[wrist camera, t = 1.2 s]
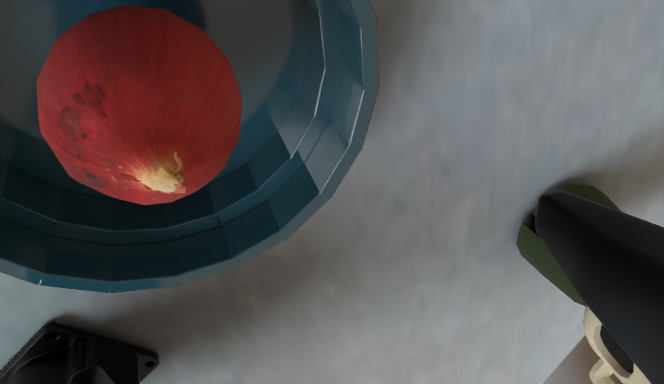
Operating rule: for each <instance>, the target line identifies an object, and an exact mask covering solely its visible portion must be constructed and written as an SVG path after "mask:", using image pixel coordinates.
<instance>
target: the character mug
mask: <svg viewBox="0 0 664 384" xmlns="http://www.w3.org/2000/svg"><path fill="white" fill-rule="evenodd" d="M562 190H563V191H566V192H569V193H571V194H574V195H577V196H579V197H582V198H585V199H588V200H590V201H593V202H596V203H598V204H601V205H604V206H607V207H609V208H612V209H615V210H618V211H620V210H619V209H618V208H617V207H616V206H615V204H614V203H613V202H612V201H611V200H610V199H609V198H608V197H607V196H606V195H605V194H604V193H602V192H601V191H600V190H598V189H597V188H595V187H594V186H583V185H572V186H569V187H567V188H565V189H562ZM536 212H537V206H536V207H535V208H534V210H533V211H532V213H533V214H534V215H535V216H536ZM620 212H621V211H620ZM517 245H518V248H519V251H520V253H521V255H522V256H523V257H524V258H525V259H526V260H527V261H528V262H529V263H530V264H531V265H533V266H534V267H535V268H536V269H537V270H538V271H539V272H540V273H541V274H542V275H543V276H544V277H546V278H547V279H548V280H549V281H550V282H552V283H553V284H554V285H555V286H556V287H558V288H559V289H560V290H561V291H562V292H564V293H565V294H566V295H567V296H568V297H570V298H571V299H572V300H573V301H574V302H577V303H579V304H581V305H584V306H586V309H585V312H584V319H583V327H584V332H585V334H586V337H587V339H588V341H589V343H590V345H591V347H592V348H593V350H594V351H596V353H597V354H598V355H599V357H600V358H601V359H600V360H599V361H598V362H597V363H596V364H595V365H594V366H593V367H592V369H591V371H590V374H589V376H590V378H591V380H592V382H593V384H615V383H614V382H613V380H612V379H611V377H610V376H611V374H612V373H614V374H615V375H616V376H617V377H618V378H619V379H620V381H621V382H622V383H623V384H651V383H650V382H649V381H648V379H647V378H646V377H645V376H644V374H643V373H642V372H641V371H640V370H639V368H638V367H637V366H636V365H635V364H634V362H633V361H632V360H631V359H630V357H629V356H628V355H627V354H626V353H625V351H624V350H623V349H622V348H621V346H620V345H619V344H618V343H617V342H616V340H615V339H614V338H613V337H612V336H611V334H610V333H609V332H608V331H607V329H606V328H605V327H604V326H603V325H602V323H601V322H600V321H599V320H598V318H597V317H596V316H595V315H594V314H593V312H592V311H591V310H590V309H589V308H588V306H587V305H586V304H585V303H584V301H583V300H582V299H581V298H580V296H579V295H578V294H577V292H576V291H575V290H574V288H573V287H572V285H571V284H570V282H569V281H568V279H567V278H566V276H565V275H564V273H563V272H562V270H561V269H560V267H559V266H558V264H557V263H556V261H555V259H554V258H553V256H552V255H551V253H550V252H549V250H548V249H547V247H546V246H545V244H544V243H543V241H542V240H541V238H540V237H539V235H538V233H537V232H536V234H534V233H533V232H532V231H531V230H530V229H529V228H528V227H527V226H526V225H524V224H523V225H522V226H521V227H520V231H519V235H518V239H517Z"/></svg>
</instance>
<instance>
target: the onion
mask: <svg viewBox="0 0 664 384" xmlns="http://www.w3.org/2000/svg"><path fill="white" fill-rule="evenodd" d="M37 98H38V119H39V124H40V130H41V134H42V135H43V137H44V138H45V140H46V141H47V143H48V144H49V146H50V147H51V149H52V150H53V152H54V154H55V155H56V157H57V158H58V160H59V161H60V163H61V164H62V166H63V167H64V169H65V170H66V172H67V173H68V174H69V176H70V177H72V178H73V179H75V180H76V181H78V182H80V183H82V184H84V185H86V186H89V187H91V188H93V189H95V190H97V191H99V192H101V193H103V194H106V195H109V196H111V197H114V198H117V199H121V200H125V201H129V202H133V203H137V204H141V205H151V204H160V203H169V202H173V201H175V200H178V199H180V198H182V197H185V196H187V195H189V194H192V193H194V192H196V191H198V190H199V189H200V188H202V187H203V186H204V185H205V184H207V183H208V182H209V181H211V180H212V179H213V178H214V177H216V176H217V175H218V174H220V172H221V171H222V170H223V169H224V167H225V165H226V163H227V161H228V159H229V157H230V155H231V153H232V151H233V149H234V147H235V145H236V143H237V141H238V138H239V136H240V126H241V113H242V98H241V92H240V89H239V86H238V83H237V80H236V77H235V74H234V71H233V68H232V65H231V62H230V61H229V60H228V59H227V57H226V56H225V55H224V54H223V53H222V52H221V50H220V49H219V48H218V47H217V46H216V44H215V43H214V42H213V41H212V40H211V38H210V37H209V36H208V35H207V34H206V33H205V32H204V31H203V30H202V29H201V28H200V27H198V26H196V25H194V24H192V23H191V22H189V21H187V20H185V19H183V18H181V17H179V16H178V15H176V14H174V13H172V12H170V11H168V10H166V9H163V8H154V7H144V6H135V5H121V6H118V7H114V8H110V9H106V10H102V11H99V12H95V13H91V14H88V15H87V16H86V17H84V18H83V19H82V20H80V21H79V22H78V23H76V24H75V25H74V26H72V27H71V28H70V29H68V30H67V31H66V32H64V33H63V34H62V35H60V37H59V38H58V39H57V41H56V42H55V44H54V45H53V47H52V49H51V51H50V53H49V55H48V57H47V59H46V61H45V63H44V66H43V68H42V70H41V72H40V74H39V76H38V78H37Z"/></svg>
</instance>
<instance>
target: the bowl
mask: <svg viewBox="0 0 664 384" xmlns="http://www.w3.org/2000/svg"><path fill="white" fill-rule="evenodd" d="M121 5H135V6H144V7H154V8H163V9H166V10H168V11H170V12H172V13H174V14H176V15H178V16H179V17H181V18H183V19H185V20H187V21H189V22H191V23H192V24H194V25H196V26H198V27H200V28H201V29H202V30H203V31H204V32H205V33H206V34H207V35H208V36H209V37H210V38H211V40H212V41H213V42H214V43H215V44H216V46H217V47H218V48H219V49H220V50H221V52H222V53H223V54H224V55H225V56H226V57H227V59H228V60H229V61H230V62H231V65H232V68H233V71H234V74H235V77H236V80H237V83H238V86H239V89H240V92H241V98H242V113H241V126H240V136H239V138H238V141H237V143H236V145H235V147H234V149H233V151H232V153H231V155H230V157H229V159H228V161H227V163H226V165H225V167H224V169H223V170H222V171H221V172H220V174H218V175H217V176H216V177H214V178H213V179H212V180H211V181H209V182H208V183H207V184H205V185H204V186H203V187H202V188H200V189H199V190H198V191H196V192H194V193H192V194H189V195H187V196H185V197H182V198H180V199H178V200H175V201H173V202H169V203H160V204H151V205H141V204H137V203H133V202H129V201H125V200H121V199H117V198H114V197H111V196H109V195H106V194H103V193H101V192H99V191H97V190H95V189H93V188H91V187H89V186H86V185H84V184H82V183H80V182H78V181H76V180H75V179H73V178H72V177H70V176H69V174H68V173H67V172H66V170H65V169H64V167H63V166H62V164H61V163H60V161H59V160H58V158H57V157H56V155H55V154H54V152H53V150H52V149H51V147H50V146H49V144H48V143H47V141H46V140H45V138H44V137H43V135H42V134H41V130H40V124H39V119H38V98H37V78H38V76H39V74H40V72H41V70H42V68H43V66H44V63H45V61H46V59H47V57H48V55H49V53H50V51H51V49H52V47H53V45H54V44H55V42H56V41H57V39H58V38H59V37H60V35H62V34H63V33H64V32H66V31H67V30H68V29H70V28H71V27H72V26H74V25H75V24H76V23H78V22H79V21H80V20H82V19H83V18H84V17H86V16H87V15H88V14H91V13H95V12H99V11H102V10H106V9H110V8H114V7H118V6H121ZM378 88H379V72H378V42H377V21H376V16H375V13H374V11H373V8H372V5H371V3H370V0H0V272H1V273H4V274H7V275H10V276H13V277H16V278H19V279H22V280H25V281H28V282H31V283H34V284H39V285H43V286H52V287H61V288H70V289H79V290H88V291H97V292H106V293H109V292H111V293H114V292H125V291H135V290H145V289H156V288H166V287H175V286H176V285H177V286H180V285H183V284H186V283H189V282H192V281H196V280H199V279H202V278H205V277H208V276H212V275H215V274H218V273H221V272H224V271H227V270H231V269H234V268H236V267H238V266H240V265H242V264H244V263H245V262H247V261H249V260H251V259H252V258H254V257H256V256H258V255H259V254H261V253H263V252H265V251H266V250H268V249H270V248H272V247H273V246H275V245H277V244H278V243H280V242H282V241H284V240H285V239H287V238H288V237H290V236H291V235H292V234H293V233H294V232H295V231H296V230H297V229H298V228H299V227H300V226H302V225H303V224H304V223H305V222H306V221H307V220H308V219H309V218H310V217H311V216H312V215H313V214H314V213H315V212H316V211H317V210H319V209H320V208H321V207H322V206H323V205H324V204H325V203H326V202H327V201H328V200H329V199H330V197H332V196H333V194H334V193H335V191H336V189H337V188H338V186H339V185H340V183H341V181H342V180H343V178H344V177H345V175H346V173H347V172H348V170H349V169H350V167H351V165H352V164H353V162H354V160H355V159H356V157H357V156H358V154H359V152H360V151H361V149H362V146H363V143H364V140H365V136H366V132H367V129H368V125H369V122H370V118H371V115H372V111H373V107H374V104H375V100H376V97H377V93H378Z"/></svg>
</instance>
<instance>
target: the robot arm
mask: <svg viewBox="0 0 664 384" xmlns="http://www.w3.org/2000/svg"><path fill="white" fill-rule="evenodd" d="M535 228H536V231H537V233H538V235H539V237H540V238H541V240H542V241H543V243H544V244H545V246H546V247H547V249H548V250H549V252H550V253H551V255H552V256H553V258H554V259H555V261H556V263H557V264H558V266H559V267H560V269H561V270H562V272H563V273H564V275H565V276H566V278H567V279H568V281H569V282H570V284H571V285H572V287H573V288H574V290H575V291H576V292H577V294H578V295H579V296H580V298H581V299H582V300H583V301H584V303H585V304H586V305H587V306H588V308H589V309H590V310H591V311H592V312H593V314H594V315H595V316H596V317H597V318H598V320H599V321H600V322H601V323H602V325H603V326H604V327H605V328H606V329H607V331H608V332H609V333H610V334H611V336H612V337H613V338H614V339H615V340H616V342H617V343H618V344H619V345H620V346H621V348H622V349H623V350H624V351H625V353H626V354H627V355H628V356H629V357H630V359H631V360H632V361H633V362H634V364H635V365H636V366H637V367H638V368H639V370H640V371H641V372H642V373H643V374H644V376H645V377H646V378H647V379H648V381H649V382H650V383H651V384H664V227H661V226H658V225H656V224H653V223H650V222H647V221H645V220H642V219H639V218H637V217H634V216H631V215H628V214H626V213H623V212H620V211H618V210H615V209H612V208H609V207H607V206H604V205H601V204H598V203H596V202H593V201H590V200H588V199H585V198H582V197H579V196H577V195H574V194H571V193H569V192H566V191H563V190H554V191H551V192H549V193H546V194H544V195H542V196H540V198H539V200H538V206H537V212H536V219H535ZM158 365H159V355H158V354H157V353H155V352H152V351H149V350H145V349H142V348H139V347H135V346H132V345H129V344H125V343H122V342H119V341H116V340H112V339H109V338H106V337H102V336H99V335H96V334H92V333H89V332H86V331H82V330H79V329H76V328H72V327H69V326H66V325H62V324H59V323H49V324H46V325H45V326H43V327H42V328H41V329H40V330H39V331H38V332H37V333H36V335H35V336H34V337H33V338H32V339H31V340H30V341H29V342H28V343H27V344H26V345H25V346H24V347H23V348H22V349H21V350H20V351H19V352H18V353H17V354H16V355H15V356H14V357H13V359H12V360H11V361H10V362H9V363H8V364H7V365H6V366H5V367H4V368H3V369H2V370H1V371H0V384H140V382H141V381H142V380H143V379H144V378H145V377H146V376H147V375H148V374H150V373H151V372H152V371H153V370H154V369H155V368H156V367H157V366H158Z"/></svg>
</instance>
